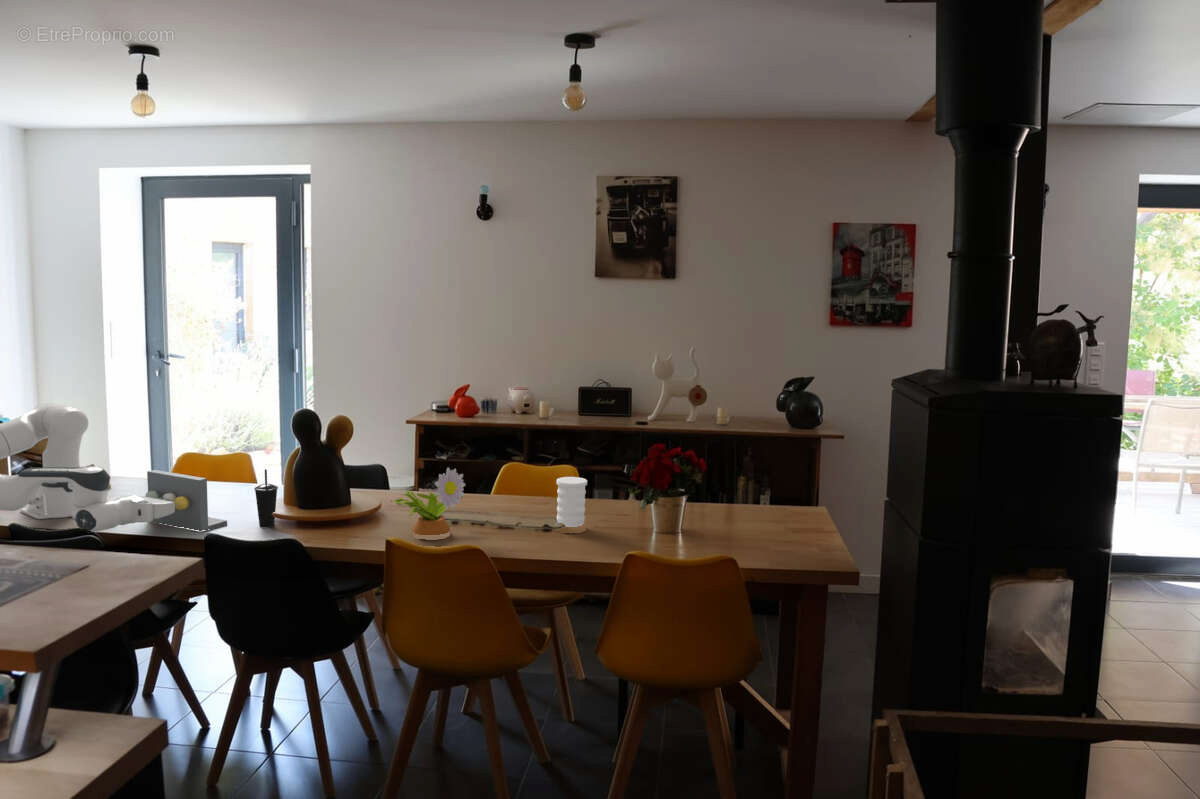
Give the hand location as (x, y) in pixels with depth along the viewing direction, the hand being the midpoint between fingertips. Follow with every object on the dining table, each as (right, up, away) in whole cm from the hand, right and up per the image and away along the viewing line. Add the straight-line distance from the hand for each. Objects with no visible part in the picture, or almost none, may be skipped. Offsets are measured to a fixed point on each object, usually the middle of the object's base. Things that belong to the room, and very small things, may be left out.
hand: (167, 500), depth 296 cm
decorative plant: (+88, -12, +5) cm, 89 cm away
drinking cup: (+30, -10, +9) cm, 33 cm away
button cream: (0, -2, +1) cm, 2 cm away
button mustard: (+6, -3, -3) cm, 7 cm away
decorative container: (+136, -12, +16) cm, 137 cm away
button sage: (-7, -2, +3) cm, 7 cm away
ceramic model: (-55, -2, +52) cm, 76 cm away
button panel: (+3, -9, +9) cm, 13 cm away
